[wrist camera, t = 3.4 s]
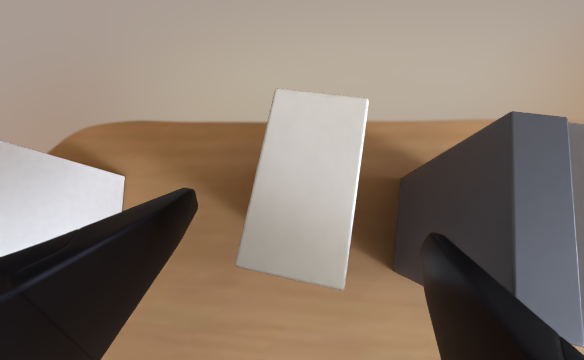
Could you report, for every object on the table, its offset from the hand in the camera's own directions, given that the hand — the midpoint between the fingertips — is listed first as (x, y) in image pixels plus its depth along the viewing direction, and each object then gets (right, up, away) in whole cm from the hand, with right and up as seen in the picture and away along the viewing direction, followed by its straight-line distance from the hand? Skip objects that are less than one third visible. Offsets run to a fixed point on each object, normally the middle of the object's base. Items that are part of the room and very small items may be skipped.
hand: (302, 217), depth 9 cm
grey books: (+10, -2, +7) cm, 13 cm away
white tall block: (+1, -1, +9) cm, 9 cm away
